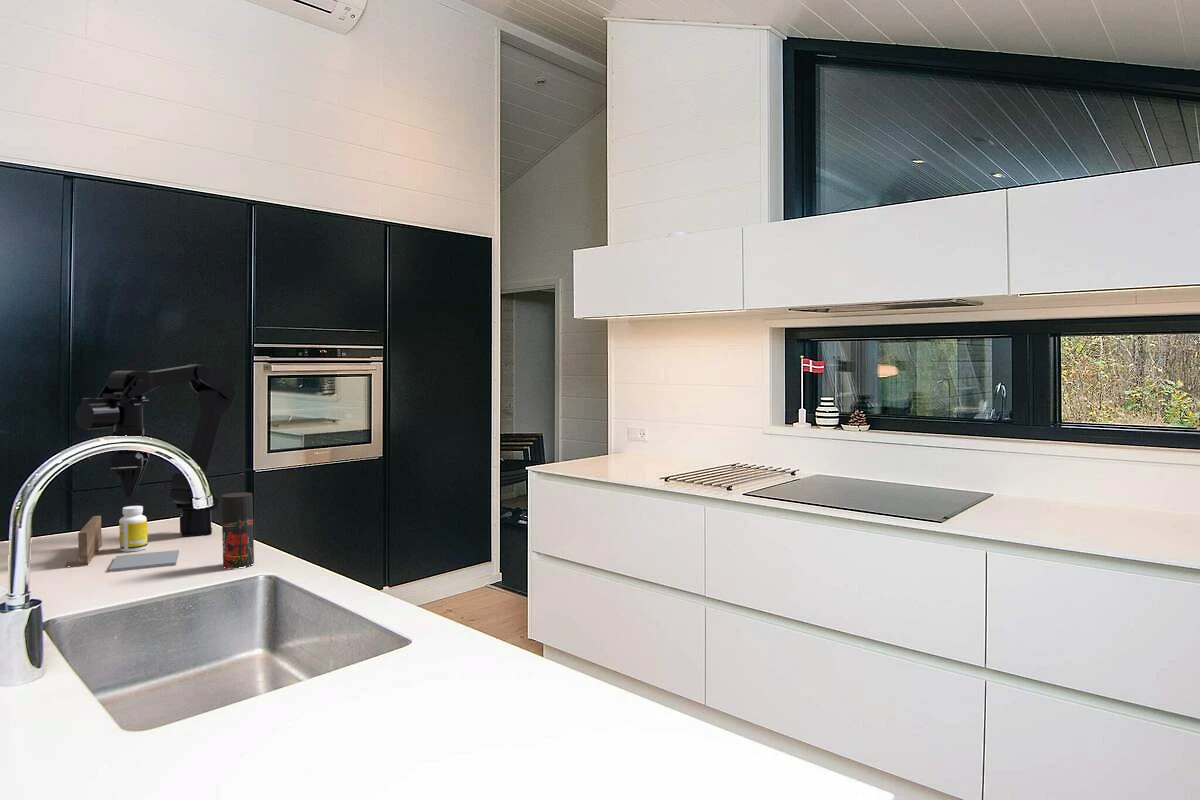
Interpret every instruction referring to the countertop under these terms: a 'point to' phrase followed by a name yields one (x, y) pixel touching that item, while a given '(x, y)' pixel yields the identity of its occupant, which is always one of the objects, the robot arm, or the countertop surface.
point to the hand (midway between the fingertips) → (131, 493)
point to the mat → (144, 560)
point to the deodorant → (237, 529)
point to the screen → (88, 542)
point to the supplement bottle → (133, 529)
